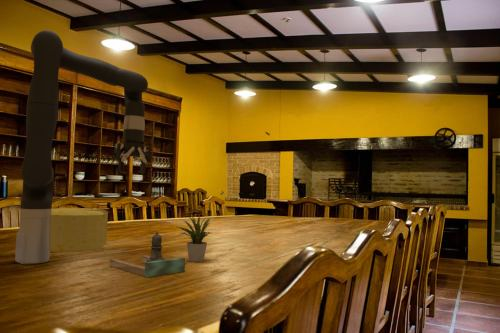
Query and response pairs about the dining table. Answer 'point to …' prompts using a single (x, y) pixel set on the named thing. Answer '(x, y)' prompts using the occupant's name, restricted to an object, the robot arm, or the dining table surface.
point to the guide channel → (151, 266)
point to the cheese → (78, 229)
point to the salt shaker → (156, 249)
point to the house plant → (196, 240)
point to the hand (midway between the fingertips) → (132, 173)
